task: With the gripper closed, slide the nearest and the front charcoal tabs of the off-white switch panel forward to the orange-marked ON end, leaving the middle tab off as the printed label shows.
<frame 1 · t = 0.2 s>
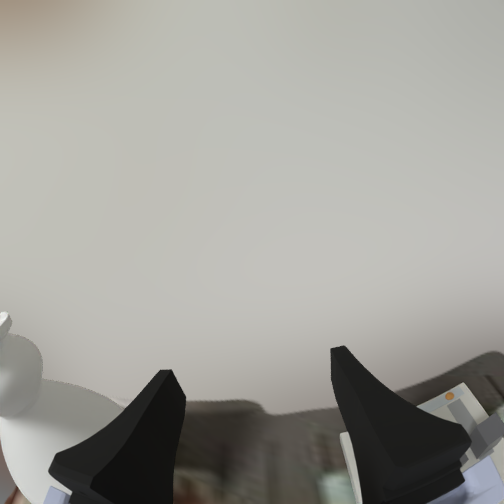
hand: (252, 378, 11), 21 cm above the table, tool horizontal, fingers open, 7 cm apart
tab 3: (487, 436, 13), point 4 cm above the table, slide at 0.0 cm
tab 2: (445, 462, 13), point 4 cm above the table, slide at 0.0 cm
switch panel: (433, 474, 15), on the table
decorative vase: (120, 493, 20), on the table
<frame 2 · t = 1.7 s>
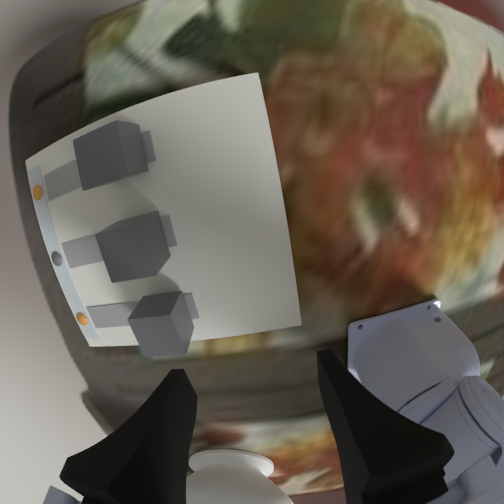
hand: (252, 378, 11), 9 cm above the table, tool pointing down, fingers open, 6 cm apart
tab 3: (111, 155, 13), point 4 cm above the table, slide at 0.0 cm
tab 2: (134, 245, 15), point 4 cm above the table, slide at 0.0 cm
switch panel: (152, 229, 19), on the table
decorative vase: (231, 465, 31), on the table
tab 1: (162, 323, 17), point 4 cm above the table, slide at 0.0 cm
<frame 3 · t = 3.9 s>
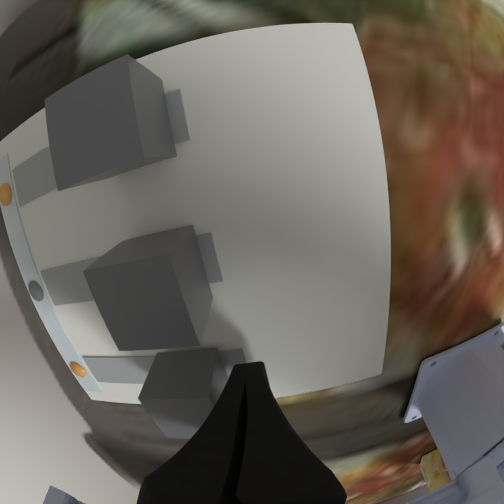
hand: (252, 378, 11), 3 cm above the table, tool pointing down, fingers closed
tab 3: (111, 126, 7), point 4 cm above the table, slide at 0.0 cm
tab 2: (154, 287, 9), point 4 cm above the table, slide at 0.0 cm
switch panel: (176, 250, 12), on the table
candy box: (446, 444, 22), on the table
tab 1: (190, 395, 11), point 4 cm above the table, slide at 0.5 cm, touching gripper
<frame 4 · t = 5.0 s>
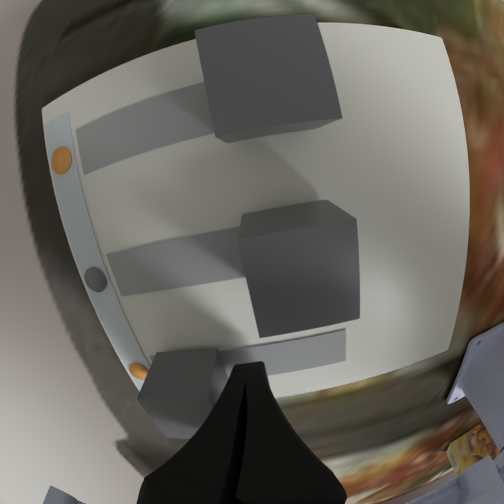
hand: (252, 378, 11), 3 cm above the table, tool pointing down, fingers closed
tab 3: (265, 82, 7), point 4 cm above the table, slide at 0.0 cm
tab 2: (297, 262, 8), point 4 cm above the table, slide at 0.0 cm
switch panel: (279, 230, 12), on the table
candy box: (470, 430, 22), on the table
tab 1: (190, 395, 11), point 4 cm above the table, slide at 5.3 cm, touching gripper
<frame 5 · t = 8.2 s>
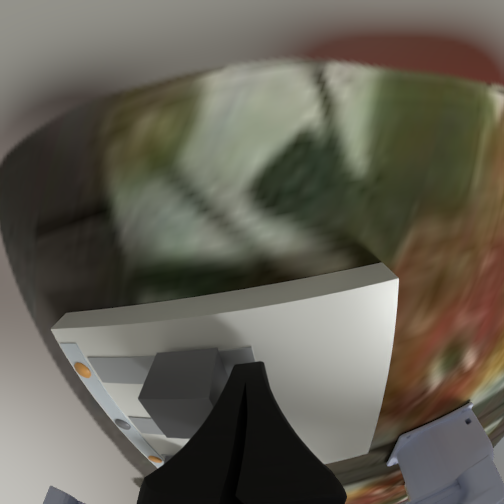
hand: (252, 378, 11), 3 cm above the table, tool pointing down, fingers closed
tab 3: (190, 395, 11), point 4 cm above the table, slide at 0.9 cm, touching gripper
switch panel: (237, 403, 16), on the table
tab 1: (187, 479, 15), point 4 cm above the table, slide at 5.3 cm
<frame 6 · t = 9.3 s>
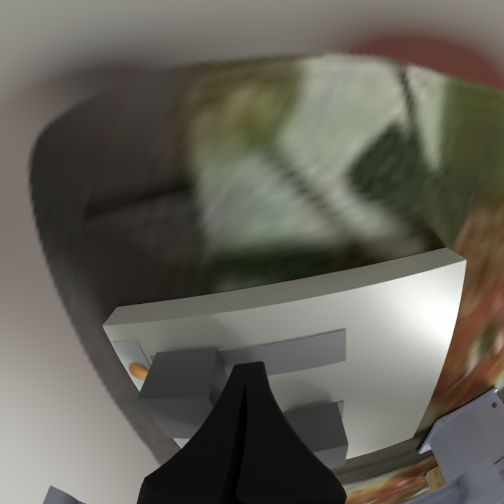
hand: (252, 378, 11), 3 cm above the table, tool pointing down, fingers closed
tab 3: (190, 395, 11), point 4 cm above the table, slide at 5.3 cm, touching gripper
tab 2: (315, 440, 12), point 4 cm above the table, slide at 0.0 cm
switch panel: (302, 394, 16), on the table
candy box: (447, 461, 25), on the table
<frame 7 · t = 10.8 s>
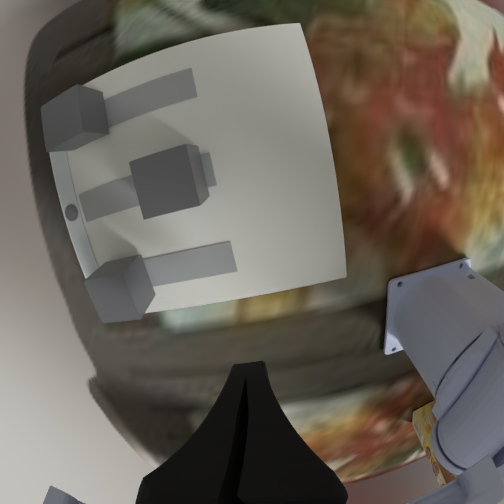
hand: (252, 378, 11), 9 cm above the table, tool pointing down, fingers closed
tab 3: (74, 119, 12), point 4 cm above the table, slide at 5.3 cm
tab 2: (171, 179, 14), point 4 cm above the table, slide at 0.0 cm
switch panel: (184, 175, 17), on the table
candy box: (437, 401, 27), on the table
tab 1: (120, 288, 16), point 4 cm above the table, slide at 5.3 cm
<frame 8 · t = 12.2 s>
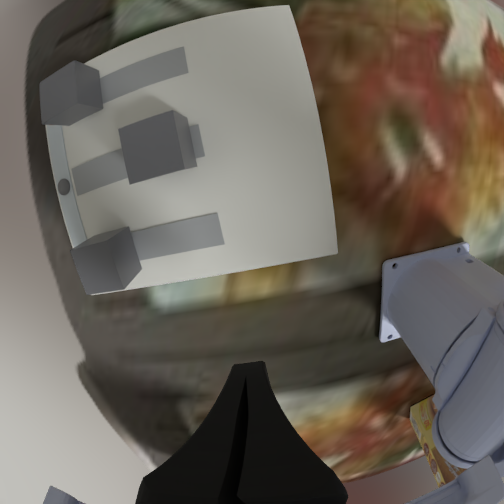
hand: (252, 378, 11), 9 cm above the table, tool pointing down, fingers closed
tab 3: (70, 95, 12), point 4 cm above the table, slide at 5.3 cm
tab 2: (159, 148, 13), point 4 cm above the table, slide at 0.0 cm
switch panel: (174, 150, 17), on the table
candy box: (435, 397, 26), on the table
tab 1: (107, 260, 15), point 4 cm above the table, slide at 5.3 cm
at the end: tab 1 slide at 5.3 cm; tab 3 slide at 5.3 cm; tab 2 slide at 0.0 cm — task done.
